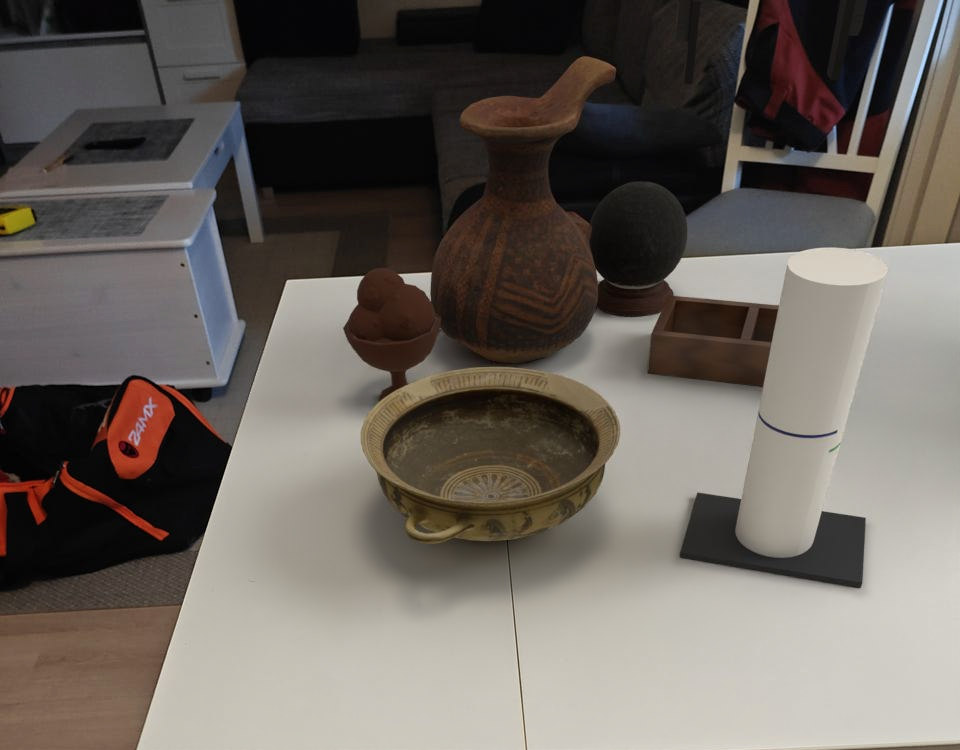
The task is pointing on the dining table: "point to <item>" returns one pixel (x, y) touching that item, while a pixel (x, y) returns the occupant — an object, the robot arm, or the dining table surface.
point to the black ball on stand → (637, 247)
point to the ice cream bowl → (392, 325)
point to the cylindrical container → (807, 395)
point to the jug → (520, 232)
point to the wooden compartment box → (713, 340)
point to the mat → (825, 560)
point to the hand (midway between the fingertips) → (759, 79)
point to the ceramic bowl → (489, 451)
